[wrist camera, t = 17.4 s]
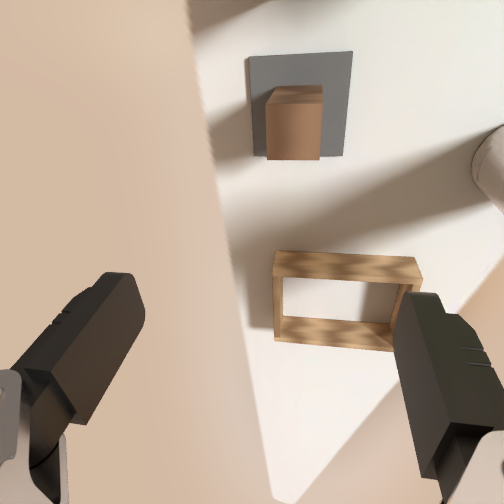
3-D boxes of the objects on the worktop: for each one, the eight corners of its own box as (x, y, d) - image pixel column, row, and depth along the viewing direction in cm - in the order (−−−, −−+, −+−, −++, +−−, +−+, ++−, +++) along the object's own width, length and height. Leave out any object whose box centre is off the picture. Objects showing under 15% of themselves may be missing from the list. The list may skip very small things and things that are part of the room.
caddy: (414, 257, 48) (423, 279, 44) (394, 328, 56) (400, 352, 52) (276, 250, 51) (272, 270, 47) (277, 319, 60) (274, 341, 56)
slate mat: (352, 51, 35) (353, 51, 34) (342, 154, 41) (342, 156, 41) (249, 56, 37) (248, 57, 36) (255, 154, 43) (254, 156, 43)
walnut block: (322, 84, 37) (323, 103, 29) (319, 131, 39) (319, 160, 31) (277, 86, 37) (265, 104, 29) (277, 131, 40) (267, 160, 32)
